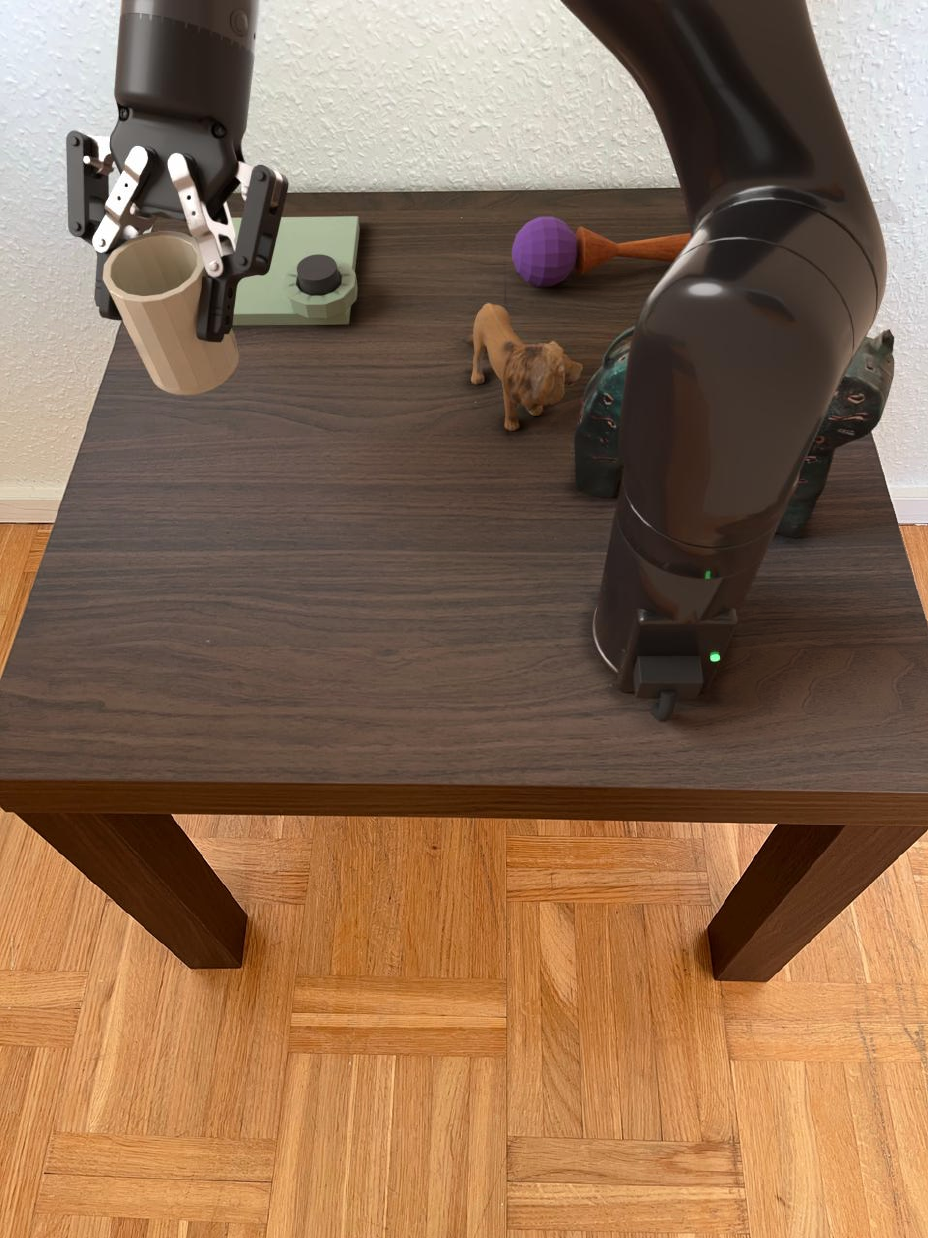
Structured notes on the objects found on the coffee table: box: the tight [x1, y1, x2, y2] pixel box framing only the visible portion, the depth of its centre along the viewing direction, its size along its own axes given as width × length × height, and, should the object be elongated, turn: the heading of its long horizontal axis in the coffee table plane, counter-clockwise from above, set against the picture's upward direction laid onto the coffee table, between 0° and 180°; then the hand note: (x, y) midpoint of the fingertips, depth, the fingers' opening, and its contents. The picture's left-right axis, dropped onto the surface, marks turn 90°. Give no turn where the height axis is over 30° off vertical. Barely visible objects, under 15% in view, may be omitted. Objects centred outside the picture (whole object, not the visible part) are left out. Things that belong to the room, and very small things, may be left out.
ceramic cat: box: [573, 325, 895, 539], centre depth 63 cm, size 20×6×20 cm, turn 73°
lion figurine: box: [460, 302, 584, 432], centre depth 75 cm, size 15×5×9 cm, turn 33°
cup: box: [103, 230, 240, 396], centre depth 59 cm, size 6×6×8 cm
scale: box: [191, 215, 361, 326], centre depth 86 cm, size 15×17×3 cm
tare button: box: [297, 254, 339, 296], centre depth 82 cm, size 4×4×2 cm
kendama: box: [511, 215, 690, 288], centre depth 84 cm, size 6×6×20 cm
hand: (160, 328), depth 58 cm, fingers closed on cup, 6 cm apart
